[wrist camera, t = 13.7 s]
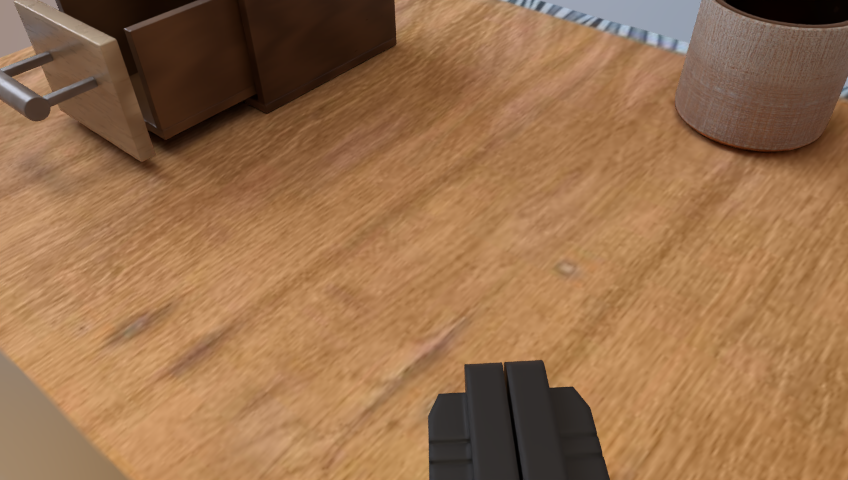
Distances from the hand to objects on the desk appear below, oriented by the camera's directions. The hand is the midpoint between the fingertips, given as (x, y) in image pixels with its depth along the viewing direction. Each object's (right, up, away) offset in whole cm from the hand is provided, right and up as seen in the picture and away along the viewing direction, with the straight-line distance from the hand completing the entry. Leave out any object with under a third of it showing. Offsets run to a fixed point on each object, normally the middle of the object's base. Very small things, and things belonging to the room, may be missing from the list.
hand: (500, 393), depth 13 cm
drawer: (-23, +13, +40) cm, 48 cm away
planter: (+23, +12, +39) cm, 47 cm away
